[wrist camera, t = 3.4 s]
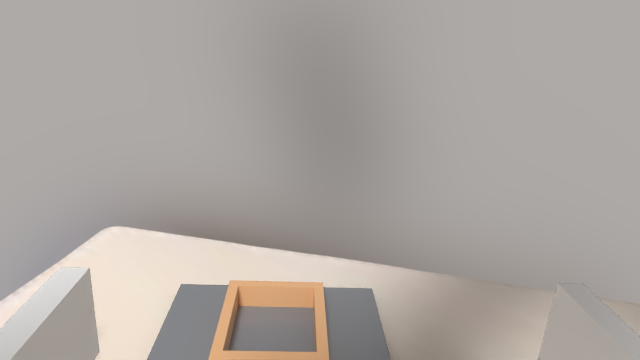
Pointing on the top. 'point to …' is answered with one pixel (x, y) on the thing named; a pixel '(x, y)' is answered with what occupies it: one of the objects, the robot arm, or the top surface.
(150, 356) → the plate
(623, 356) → the robot arm
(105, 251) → the top surface
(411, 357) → the top surface
